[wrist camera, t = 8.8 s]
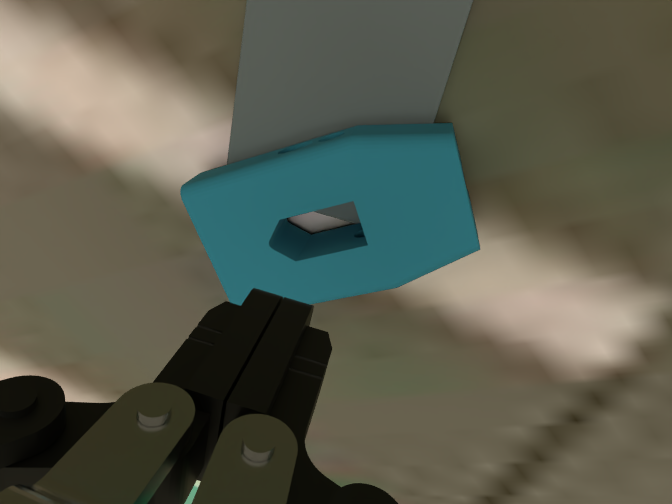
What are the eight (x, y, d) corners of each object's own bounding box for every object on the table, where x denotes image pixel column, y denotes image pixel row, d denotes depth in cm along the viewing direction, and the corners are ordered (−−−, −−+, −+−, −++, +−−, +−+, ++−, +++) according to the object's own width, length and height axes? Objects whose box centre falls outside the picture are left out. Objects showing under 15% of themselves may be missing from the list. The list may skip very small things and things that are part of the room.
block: (486, 275, 34) (239, 322, 40) (480, 245, 39) (259, 291, 44) (447, 108, 30) (176, 188, 36) (446, 96, 34) (205, 169, 40)
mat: (475, -8, 32) (475, -8, 31) (397, 232, 40) (397, 235, 40) (257, -63, 32) (254, -64, 32) (227, 183, 41) (224, 185, 40)
